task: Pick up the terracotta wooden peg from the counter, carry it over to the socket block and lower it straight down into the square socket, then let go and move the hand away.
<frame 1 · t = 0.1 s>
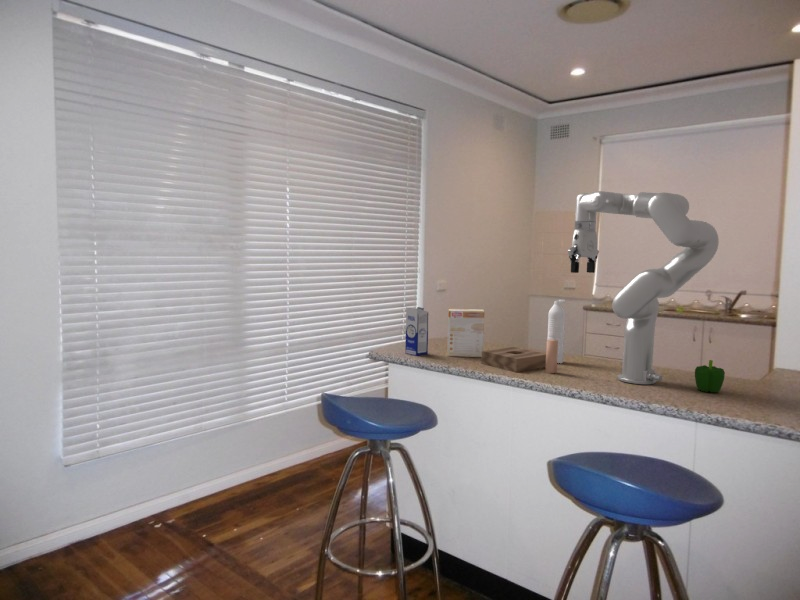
hand: (582, 272, 205), 37 cm above the countertop, tool pointing down, fingers open, 9 cm apart
coffeecake box: (465, 355, 229), on the countertop
socket block: (514, 365, 211), on the countertop
milk carton: (416, 354, 230), on the countertop
peg: (550, 372, 199), on the countertop
bell pepper: (708, 391, 176), on the countertop
water bottle: (555, 362, 219), on the countertop
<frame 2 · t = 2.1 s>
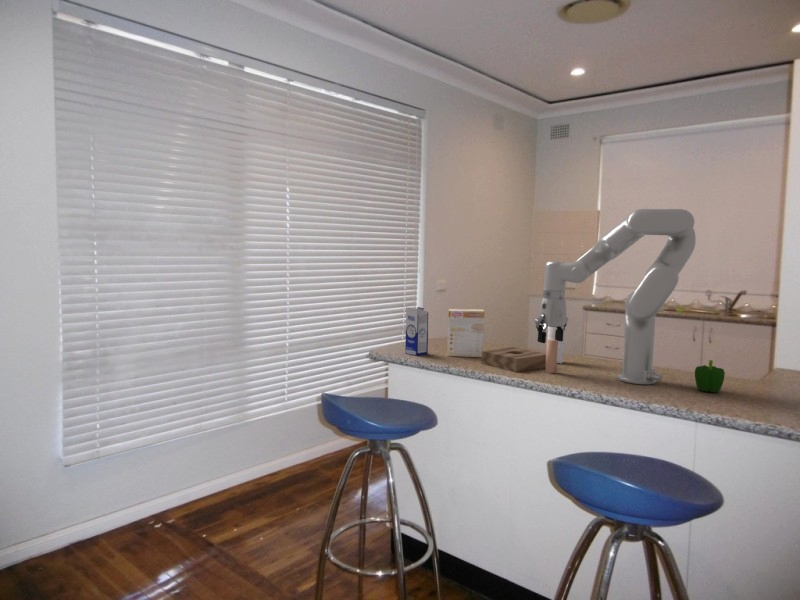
hand: (550, 341, 198), 11 cm above the countertop, tool pointing down, fingers open, 9 cm apart
nothing on the countertop moved.
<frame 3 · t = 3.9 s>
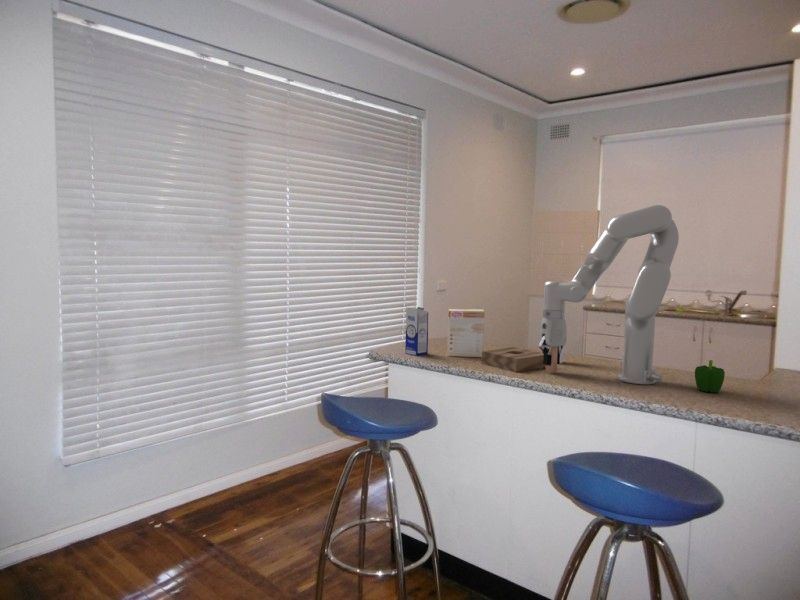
hand: (551, 363, 198), 3 cm above the countertop, tool pointing down, fingers closed on peg, 4 cm apart
peg: (550, 372, 199), on the countertop, touching gripper
everything else where it was.
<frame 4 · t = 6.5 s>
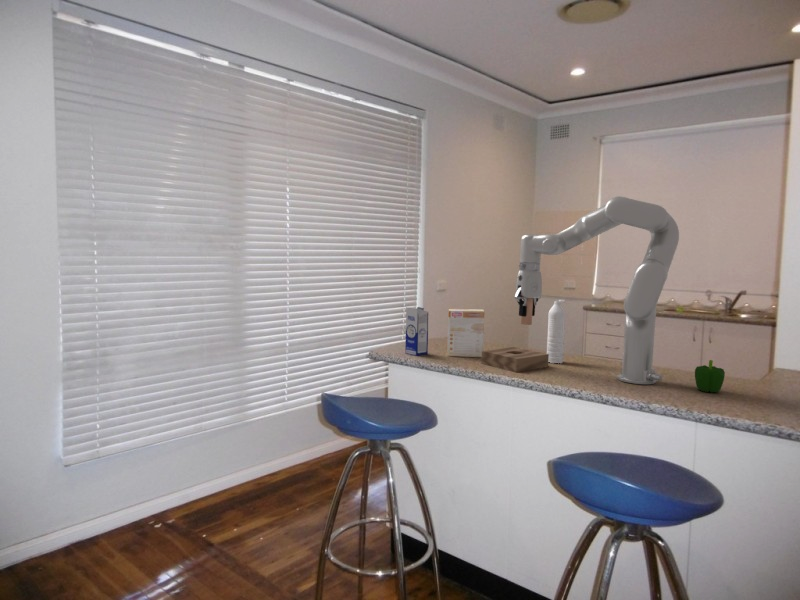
hand: (526, 315, 205), 20 cm above the countertop, tool pointing down, fingers closed on peg, 4 cm apart
peg: (526, 323, 205), point 17 cm above the countertop, touching gripper
everything else where it was.
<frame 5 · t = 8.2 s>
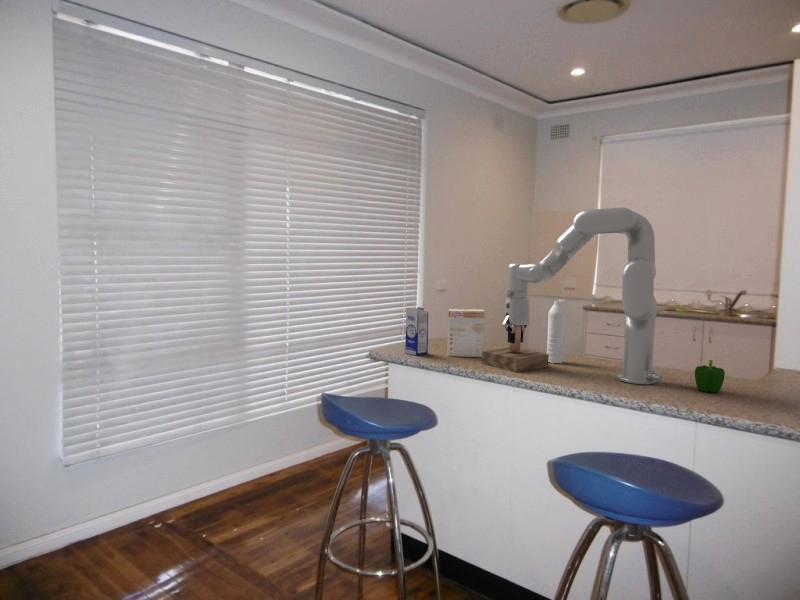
hand: (515, 341, 210), 9 cm above the countertop, tool pointing down, fingers closed on peg, 4 cm apart
peg: (514, 350, 210), point 6 cm above the countertop, touching gripper
everything else where it was.
when the fingers open (6 cm above the countertop, at t = 9.5 s): peg drops 3 cm, resting in socket block.
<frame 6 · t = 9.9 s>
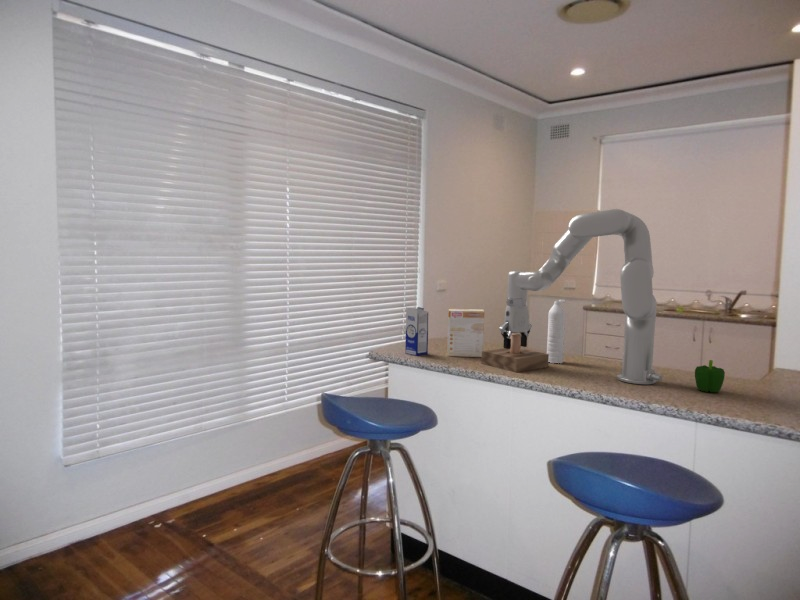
hand: (515, 347, 210), 7 cm above the countertop, tool pointing down, fingers open, 8 cm apart
peg: (514, 365, 211), resting in socket block
everything else where it was.
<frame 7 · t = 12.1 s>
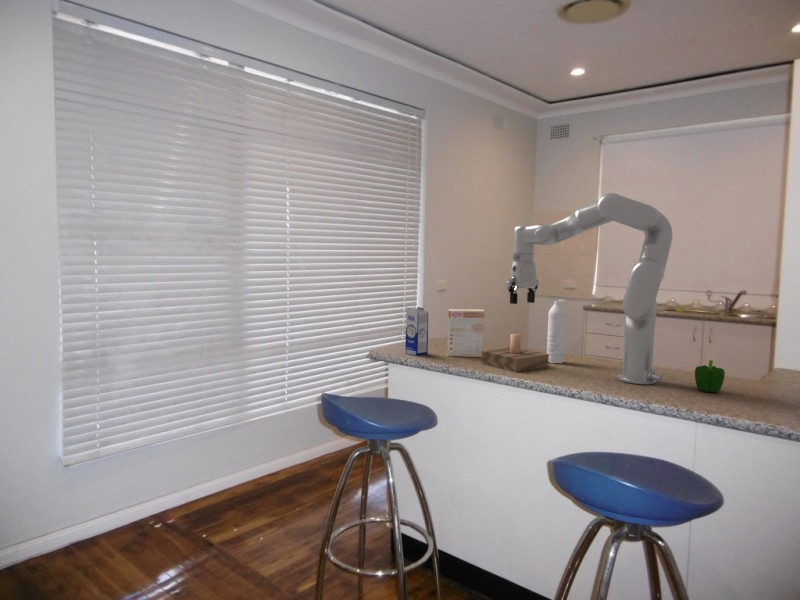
hand: (522, 303, 207), 24 cm above the countertop, tool pointing down, fingers open, 9 cm apart
nothing on the countertop moved.
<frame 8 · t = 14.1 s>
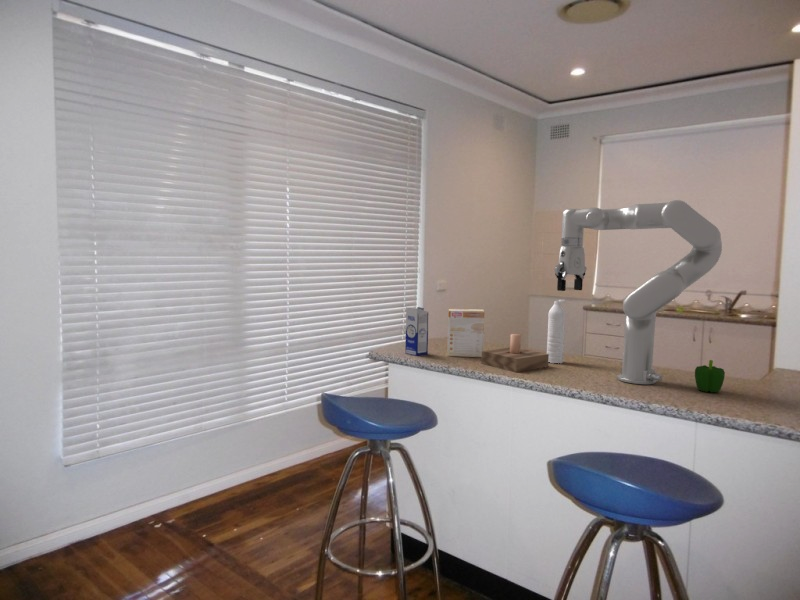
hand: (569, 290, 198), 30 cm above the countertop, tool pointing down, fingers open, 9 cm apart
nothing on the countertop moved.
at the end: peg 0.0 cm off-centre on the socket block, point 0.0 cm above the socket block's base; peg tilted 0°; the gripper is holding nothing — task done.
